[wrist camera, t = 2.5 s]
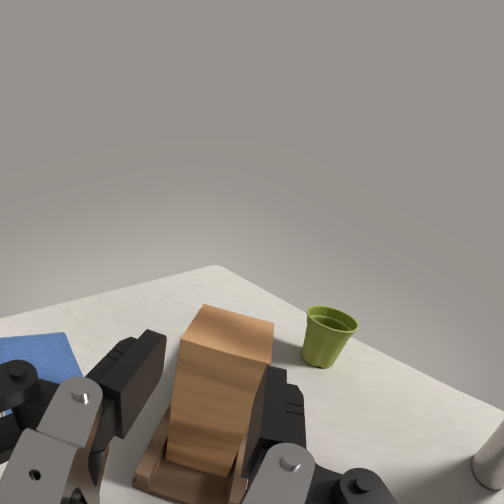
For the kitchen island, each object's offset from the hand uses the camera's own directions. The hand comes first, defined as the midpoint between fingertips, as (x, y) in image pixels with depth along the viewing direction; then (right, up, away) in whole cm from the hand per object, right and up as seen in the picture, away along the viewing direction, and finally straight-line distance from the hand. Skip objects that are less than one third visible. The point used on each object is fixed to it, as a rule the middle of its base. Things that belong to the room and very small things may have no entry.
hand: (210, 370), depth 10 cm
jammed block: (-3, -16, +14) cm, 21 cm away
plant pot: (+13, -15, +39) cm, 44 cm away
